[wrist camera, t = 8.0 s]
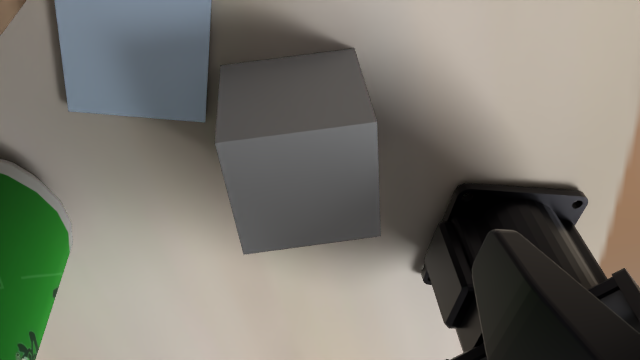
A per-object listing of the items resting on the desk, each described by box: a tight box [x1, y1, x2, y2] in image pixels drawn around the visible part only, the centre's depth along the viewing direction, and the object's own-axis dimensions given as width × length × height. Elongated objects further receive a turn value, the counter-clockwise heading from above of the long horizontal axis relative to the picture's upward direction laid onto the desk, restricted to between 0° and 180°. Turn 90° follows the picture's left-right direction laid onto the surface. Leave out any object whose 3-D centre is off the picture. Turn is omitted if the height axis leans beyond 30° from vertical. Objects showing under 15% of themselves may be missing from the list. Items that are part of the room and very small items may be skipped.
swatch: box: [54, 0, 212, 122], centre depth 20 cm, size 5×5×1 cm
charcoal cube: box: [215, 48, 381, 254], centre depth 21 cm, size 5×5×5 cm
